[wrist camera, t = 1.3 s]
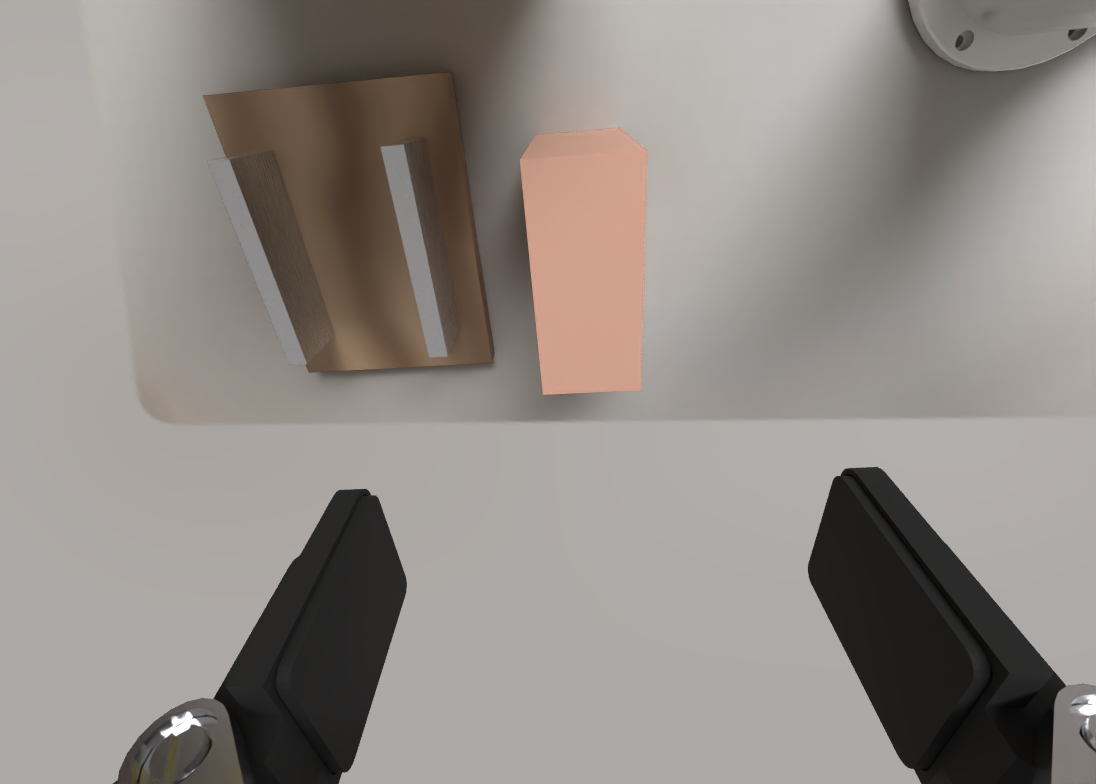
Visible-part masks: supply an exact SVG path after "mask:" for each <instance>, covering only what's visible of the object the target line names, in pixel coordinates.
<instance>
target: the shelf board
mask: <svg viewBox="0 0 1096 784" xmlns="http://www.w3.org/2000/svg"><path fill="white" fill-rule="evenodd" d="M203 97H204V100H205V103H206V105H207V108H208V110H209V113H210V116H211V118H212V121H213V123H214V126H215V129H216V131H217V134H218V137H219V139H220V142H221V144H222V147H223V150H224V152H225V155H226V157H231V156H236V155H240V154H245V153H250V152H255V151H267V150H274V153H275V156H276V159H277V162H278V165H279V168H280V171H281V174H282V177H283V180H284V183H285V186H286V189H287V192H288V195H289V198H290V201H291V204H292V207H293V210H294V213H295V216H296V219H297V222H298V225H299V228H300V231H301V234H302V237H303V240H304V243H305V246H306V249H307V252H308V255H309V258H310V261H311V264H312V267H313V270H314V273H315V276H316V279H317V282H318V285H319V288H320V291H321V294H322V297H323V300H324V303H325V306H326V309H327V312H328V315H329V318H330V321H331V324H332V327H333V329H334V332H335V335H334V336H333V337H332V338H331V339H330V340H329V341H328V342H327V343H326V344H325V346H324V347H323V348H322V349H321V350H320V351H319V352H318V353H317V354H316V355H315V356H314V357H313V358H312V359H311V361H310V362H309V363H308V364H306V367H307V369H308V372H309V373H310V372H329V371H348V370H366V369H385V368H403V367H422V366H440V365H459V364H477V363H492V360H493V357H494V347H493V341H492V334H491V328H490V321H489V314H488V308H487V301H486V295H485V288H484V282H483V275H482V268H481V262H480V255H479V249H478V242H477V235H476V229H475V222H474V216H473V209H472V203H471V196H470V189H469V183H468V176H467V170H466V163H465V156H464V150H463V143H462V137H461V130H460V124H459V117H458V110H457V104H456V97H455V91H454V84H453V77H452V73H448V72H445V73H434V74H424V75H413V76H403V77H392V78H382V79H371V80H361V81H351V82H340V83H330V84H319V85H309V86H298V87H288V88H277V89H267V90H256V91H246V92H236V93H225V94H215V95H204V96H203ZM417 137H426V142H427V148H428V153H429V158H430V164H431V169H432V174H433V180H434V185H435V191H436V196H437V201H438V207H439V212H440V217H441V223H442V228H443V234H444V239H445V244H446V250H447V255H448V260H449V266H450V271H451V277H452V282H453V287H454V293H455V298H456V303H457V309H458V314H459V320H460V325H461V328H460V330H459V332H458V334H457V337H456V339H455V341H454V343H453V346H452V348H451V350H450V353H449V355H448V356H446V357H429V355H428V351H427V346H426V342H425V338H424V333H423V329H422V325H421V320H420V316H419V312H418V307H417V303H416V299H415V294H414V290H413V286H412V281H411V277H410V273H409V268H408V264H407V260H406V255H405V251H404V247H403V242H402V238H401V234H400V229H399V225H398V221H397V216H396V212H395V208H394V203H393V199H392V195H391V190H390V186H389V182H388V177H387V173H386V169H385V165H384V160H383V156H382V152H381V146H384V145H387V144H390V143H393V142H396V141H399V140H402V139H405V138H417Z"/></svg>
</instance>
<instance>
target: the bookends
mask: <svg viewBox="0 0 1096 784" xmlns="http://www.w3.org/2000/svg"><path fill="white" fill-rule="evenodd" d="M381 152H382V156H383V160H384V165H385V169H386V173H387V177H388V182H389V186H390V190H391V195H392V199H393V203H394V208H395V212H396V216H397V221H398V225H399V229H400V234H401V238H402V242H403V247H404V251H405V255H406V260H407V264H408V268H409V273H410V277H411V281H412V286H413V290H414V294H415V299H416V303H417V307H418V312H419V316H420V320H421V325H422V329H423V333H424V338H425V342H426V346H427V351H428V355H429V357H446V356H448V355H449V353H450V350H451V348H452V346H453V343H454V341H455V339H456V337H457V334H458V332H459V330H460V328H461V325H460V320H459V314H458V309H457V303H456V298H455V293H454V287H453V282H452V277H451V271H450V266H449V260H448V255H447V250H446V244H445V239H444V234H443V228H442V223H441V217H440V212H439V207H438V201H437V196H436V191H435V185H434V180H433V174H432V169H431V164H430V158H429V153H428V148H427V142H426V137H417V138H405V139H402V140H399V141H396V142H393V143H390V144H387V145H384V146H381ZM207 163H208V165H209V168H210V170H211V172H212V175H213V177H214V180H215V182H216V185H217V187H218V190H219V192H220V195H221V197H222V200H223V202H224V205H225V207H226V210H227V212H228V215H229V217H230V220H231V222H232V225H233V227H234V230H235V232H236V235H237V237H238V239H239V242H240V244H241V247H242V249H243V252H244V254H245V257H246V259H247V262H248V264H249V267H250V269H251V272H252V274H253V277H254V279H255V282H256V284H257V287H258V289H259V292H260V294H261V297H262V299H263V302H264V304H265V306H266V309H267V311H268V314H269V316H270V319H271V321H272V324H273V326H274V329H275V331H276V334H277V336H278V339H279V341H280V344H281V346H282V349H283V351H284V354H285V356H286V359H287V361H288V364H289V365H301V364H308V363H309V362H310V361H311V359H312V358H313V357H314V356H315V355H316V354H317V353H318V352H319V351H320V350H321V349H322V348H323V347H324V346H325V344H326V343H327V342H328V341H329V340H330V339H331V338H332V337H333V336H334V335H335V332H334V329H333V327H332V324H331V321H330V318H329V315H328V312H327V309H326V306H325V303H324V300H323V297H322V294H321V291H320V288H319V285H318V282H317V279H316V276H315V273H314V270H313V267H312V264H311V261H310V258H309V255H308V252H307V249H306V246H305V243H304V240H303V237H302V234H301V231H300V228H299V225H298V222H297V219H296V216H295V213H294V210H293V207H292V204H291V201H290V198H289V195H288V192H287V189H286V186H285V183H284V180H283V177H282V174H281V171H280V168H279V165H278V162H277V159H276V156H275V153H274V150H267V151H255V152H250V153H245V154H240V155H236V156H231V157H226V158H221V159H217V160H212V161H207Z"/></svg>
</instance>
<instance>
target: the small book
mask: <svg viewBox="0 0 1096 784" xmlns="http://www.w3.org/2000/svg"><path fill="white" fill-rule="evenodd" d="M520 169H521V179H522V189H523V199H524V209H525V219H526V229H527V240H528V250H529V260H530V270H531V280H532V290H533V300H534V310H535V320H536V331H537V341H538V351H539V361H540V371H541V381H542V391H543V395H550V394H571V393H591V392H611V391H632V390H641V379H642V338H643V297H644V256H645V216H646V175H647V149H646V148H644V147H643V146H642V145H641V144H639V143H638V142H637V141H636V140H634V139H633V138H632V137H630V136H629V135H628V134H627V133H625V132H624V131H623V130H622V129H620V128H611V129H599V130H587V131H576V132H564V133H552V134H541V135H535V137H534V139H533V140H532V142H531V143H530V145H529V146H528V148H527V149H526V151H525V153H524V154H523V156H522V157H521V159H520Z"/></svg>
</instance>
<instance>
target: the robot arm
mask: <svg viewBox="0 0 1096 784" xmlns="http://www.w3.org/2000/svg"><path fill="white" fill-rule="evenodd" d="M908 2H909V6H910V10H911V14H912V18H913V22H914V23H915V25H916V27H917V29H918V31H919V33H920V35H921V37H922V39H923V41H924V42H925V43H926V44H927V45H928V46H929V47H930V48H931V49H932V50H933V51H934V53H935V54H936V55H937V56H939V57H941V58H942V59H944V60H946V61H947V62H949V63H951V64H952V65H954V66H958V67H962V68H965V69H969V70H973V71H1005V70H1016V69H1022V68H1025V67H1029V66H1033V65H1036V64H1040V63H1043V62H1046V61H1048V60H1050V59H1052V58H1055V57H1057V56H1059V55H1061V54H1063V53H1065V52H1068V51H1070V50H1072V49H1073V48H1075V47H1076V46H1078V45H1080V44H1081V43H1083V42H1084V41H1086V40H1087V39H1089V38H1091V37H1092V36H1094V35H1095V34H1096V0H908ZM957 38H958V40H957ZM956 40H957V43H956ZM955 44H956V45H955ZM808 574H809V579H810V582H811V584H812V586H813V588H814V590H815V592H816V594H817V596H818V598H819V600H820V602H821V604H822V606H823V608H824V610H825V612H826V614H827V616H828V618H829V620H830V622H831V624H832V626H833V628H834V630H835V632H836V634H837V636H838V638H839V640H840V642H841V643H842V646H843V647H844V649H845V651H846V653H847V655H848V657H849V659H850V661H851V663H852V665H853V667H854V669H855V671H856V673H857V675H858V677H859V679H860V681H861V683H862V685H863V687H864V689H865V691H866V693H867V695H868V697H869V699H870V701H871V703H872V705H873V707H874V709H875V711H876V713H877V715H878V717H879V719H880V721H881V723H882V725H883V727H884V729H885V731H886V733H887V735H888V736H889V739H890V741H891V742H892V744H893V747H894V749H895V750H896V753H897V754H898V756H899V758H900V759H901V761H902V762H903V763H904V765H905V766H907V767H908V768H911V769H914V770H915V772H916V774H917V776H918V778H919V780H920V782H921V784H1096V686H1094V685H1089V684H1076V685H1068V686H1066V685H1065V684H1064V683H1063V681H1062V680H1061V679H1060V678H1059V677H1058V676H1057V674H1056V673H1055V672H1054V671H1053V670H1052V668H1051V667H1050V666H1049V665H1048V664H1047V663H1046V661H1044V659H1043V658H1042V657H1041V656H1040V654H1039V653H1038V652H1037V651H1036V650H1035V648H1034V647H1033V646H1032V645H1031V644H1030V643H1029V641H1028V640H1027V639H1026V638H1025V637H1024V635H1023V634H1022V633H1021V632H1020V631H1019V629H1018V628H1017V627H1016V626H1015V625H1014V624H1013V622H1012V621H1011V620H1010V619H1009V618H1008V616H1007V615H1006V614H1005V613H1004V612H1003V611H1002V609H1001V608H1000V607H999V606H998V605H997V603H996V602H995V601H994V600H993V599H992V598H991V596H990V595H989V594H988V593H987V592H986V590H985V589H984V588H983V587H982V586H981V584H980V583H979V582H978V581H977V580H976V579H975V577H974V576H973V575H972V574H971V573H970V572H969V570H968V569H967V568H966V567H965V566H964V564H963V563H962V562H961V561H960V560H959V559H958V557H957V556H956V555H955V554H954V553H953V551H952V550H951V549H950V548H949V547H948V545H947V544H945V543H944V542H943V541H942V539H941V538H940V537H939V536H938V535H937V533H936V532H935V531H934V530H933V529H932V528H931V526H930V525H929V524H928V523H927V522H926V520H925V519H924V518H923V517H922V516H921V514H920V513H919V512H918V511H917V510H916V509H915V507H914V506H913V505H912V504H911V503H910V502H909V500H908V499H907V498H906V497H905V495H904V494H903V493H902V492H901V491H900V490H899V488H898V487H897V486H896V485H895V484H894V482H893V481H892V480H891V479H890V478H889V477H888V475H887V474H886V473H885V472H884V471H883V470H882V469H880V468H878V467H869V468H868V467H867V468H848V469H845V470H844V471H843V472H842V474H841V476H836V477H835V478H834V480H833V482H832V486H831V489H830V492H829V496H828V499H827V503H826V506H825V510H824V513H823V516H822V520H821V523H820V526H819V530H818V533H817V537H816V540H815V544H814V547H813V550H812V554H811V557H810V561H809V564H808ZM406 587H407V582H406V576H405V573H404V571H403V568H402V565H401V562H400V559H399V556H398V553H397V550H396V547H395V545H394V542H393V539H392V536H391V533H390V530H389V527H388V524H387V522H386V519H385V516H384V513H383V510H382V507H381V504H380V502H379V499H378V497H376V496H371V494H370V492H369V491H368V490H367V489H353V490H339V491H337V492H336V493H335V495H334V496H333V498H332V500H331V501H330V503H329V505H328V507H327V508H326V510H325V512H324V514H323V516H322V517H321V519H320V521H319V523H318V524H317V526H316V528H315V530H314V532H313V533H312V535H311V537H310V539H309V540H308V542H307V544H306V546H305V548H304V549H303V551H302V553H301V555H300V556H299V557H297V558H296V559H295V560H294V561H293V562H292V563H291V565H290V566H289V568H288V569H287V572H286V573H285V575H284V576H283V578H282V580H281V582H280V583H279V585H278V587H277V589H276V590H275V592H274V594H273V596H272V597H271V599H270V601H269V603H268V604H267V606H266V608H265V610H264V611H263V613H262V615H261V617H260V618H259V620H258V622H257V624H256V626H255V627H254V629H253V631H252V632H251V634H250V636H249V638H248V639H247V641H246V643H245V645H244V646H243V648H242V650H241V652H240V653H239V655H238V657H237V659H236V660H235V662H234V664H233V666H232V668H231V669H230V671H229V673H228V674H227V676H226V678H225V680H224V682H223V683H222V685H221V687H220V688H219V690H218V692H217V693H216V695H215V697H214V699H208V698H200V699H196V700H192V701H188V702H185V703H183V704H181V705H179V706H177V707H175V708H173V709H171V710H170V711H168V712H167V713H165V714H164V715H163V716H161V717H160V718H158V719H157V720H156V721H154V722H153V723H152V724H151V725H150V726H149V727H148V728H147V729H146V730H145V731H144V732H143V733H142V734H141V735H140V736H139V738H138V739H137V741H136V742H135V743H134V745H133V746H132V748H131V749H130V750H129V752H128V753H127V755H126V757H125V759H124V761H123V763H122V766H121V768H120V770H119V775H118V780H117V781H116V782H115V783H113V784H339V780H340V777H341V774H342V772H347V771H348V770H349V769H350V768H351V766H352V764H353V762H354V759H355V756H356V753H357V750H358V746H359V743H360V740H361V737H362V733H363V730H364V727H365V724H366V720H367V717H368V714H369V711H370V708H371V704H372V701H373V698H374V695H375V691H376V688H377V685H378V682H379V678H380V675H381V672H382V669H383V666H384V662H385V659H386V656H387V653H388V650H389V646H390V643H391V640H392V637H393V633H394V630H395V627H396V624H397V621H398V617H399V614H400V610H401V608H402V604H403V601H404V598H405V594H406Z"/></svg>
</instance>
